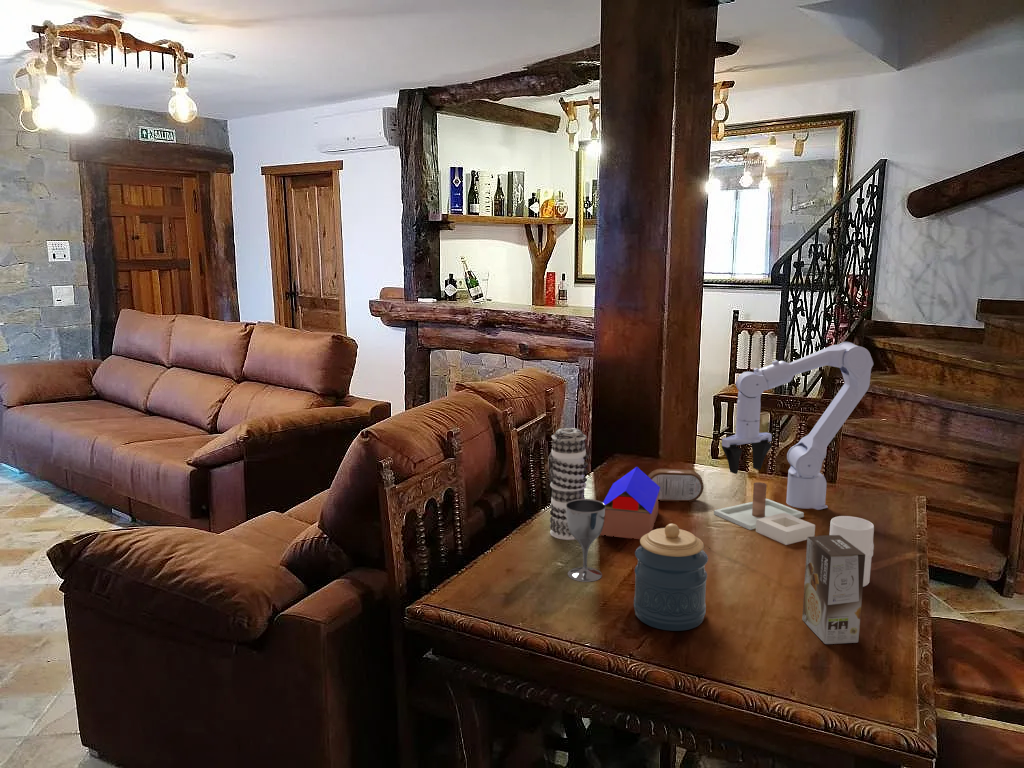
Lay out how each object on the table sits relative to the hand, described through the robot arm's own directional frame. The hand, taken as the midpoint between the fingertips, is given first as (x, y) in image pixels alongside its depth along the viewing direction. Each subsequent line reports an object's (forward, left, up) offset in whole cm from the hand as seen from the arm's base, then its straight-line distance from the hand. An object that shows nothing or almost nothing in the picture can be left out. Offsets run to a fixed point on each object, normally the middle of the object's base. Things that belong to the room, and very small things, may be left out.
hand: (745, 470), depth 196 cm
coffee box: (+34, +55, -10) cm, 65 cm away
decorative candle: (+50, -6, -10) cm, 51 cm away
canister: (+55, +37, -10) cm, 67 cm away
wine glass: (+59, +15, -10) cm, 62 cm away
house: (+33, -4, -10) cm, 35 cm away
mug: (+12, +41, -10) cm, 44 cm away
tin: (+13, -12, -10) cm, 20 cm away
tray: (+4, +9, -9) cm, 14 cm away
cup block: (+8, +21, -9) cm, 24 cm away
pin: (+4, +9, -8) cm, 13 cm away
